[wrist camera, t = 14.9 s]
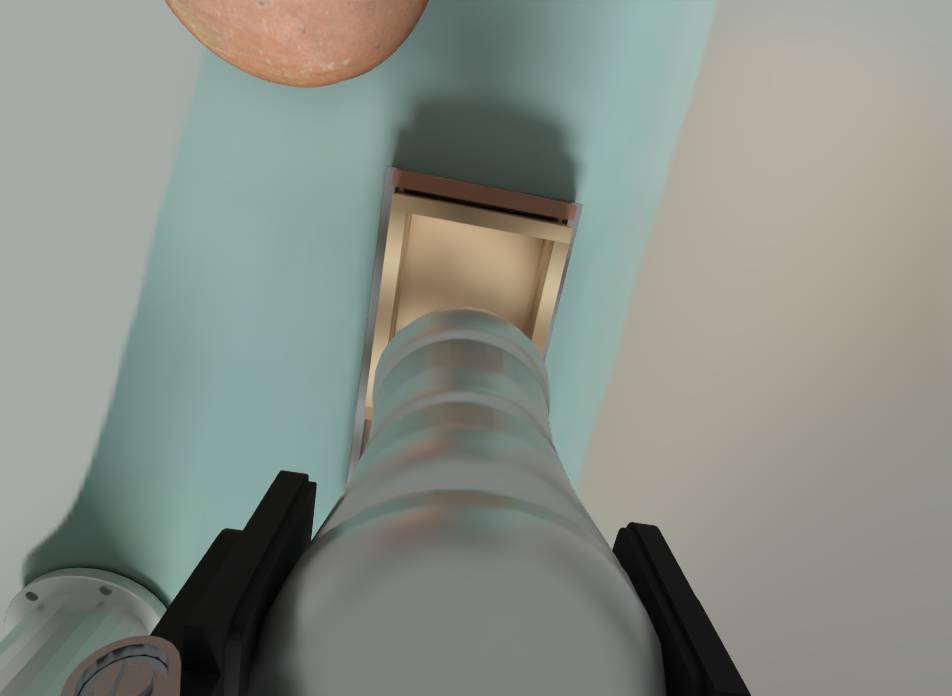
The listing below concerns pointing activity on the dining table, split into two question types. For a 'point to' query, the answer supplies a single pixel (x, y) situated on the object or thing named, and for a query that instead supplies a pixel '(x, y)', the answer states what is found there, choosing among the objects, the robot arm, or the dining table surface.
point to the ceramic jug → (301, 35)
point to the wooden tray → (461, 193)
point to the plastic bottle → (458, 545)
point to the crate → (467, 267)
